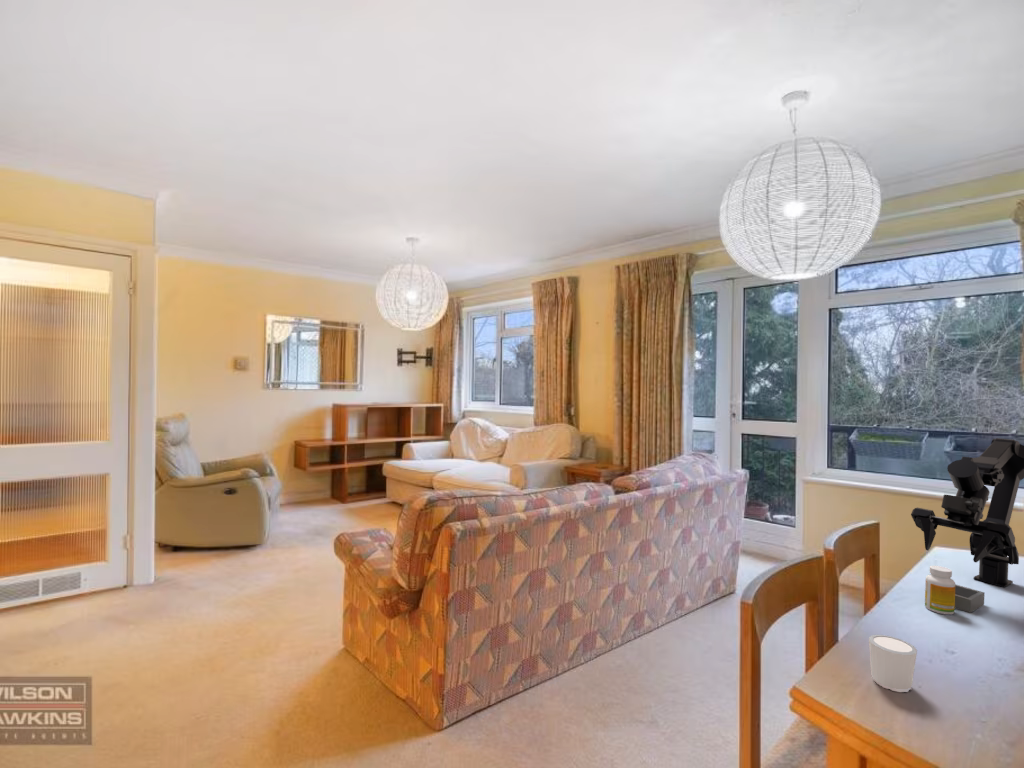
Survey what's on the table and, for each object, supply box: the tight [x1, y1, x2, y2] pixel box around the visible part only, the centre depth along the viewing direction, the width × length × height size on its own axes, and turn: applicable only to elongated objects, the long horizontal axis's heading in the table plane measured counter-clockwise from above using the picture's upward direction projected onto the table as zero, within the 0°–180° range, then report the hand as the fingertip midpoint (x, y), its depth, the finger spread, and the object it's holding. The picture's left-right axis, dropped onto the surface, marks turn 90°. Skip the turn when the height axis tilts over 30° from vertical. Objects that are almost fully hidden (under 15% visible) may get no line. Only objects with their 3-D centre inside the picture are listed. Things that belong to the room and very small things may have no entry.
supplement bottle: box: [924, 565, 956, 615], centre depth 121 cm, size 5×5×10 cm
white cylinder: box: [868, 634, 918, 689], centre depth 91 cm, size 7×7×7 cm
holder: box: [955, 583, 985, 614], centre depth 126 cm, size 9×9×3 cm
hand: (949, 555), depth 124 cm, fingers open, 9 cm apart
